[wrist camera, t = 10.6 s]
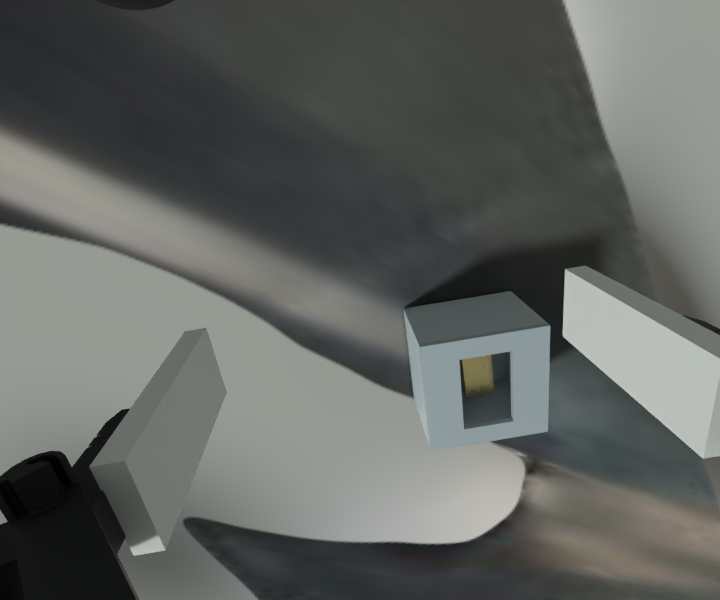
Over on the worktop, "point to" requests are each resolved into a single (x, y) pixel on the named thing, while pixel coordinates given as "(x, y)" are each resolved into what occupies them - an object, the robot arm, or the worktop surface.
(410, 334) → the grey square hollow box
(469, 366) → the block
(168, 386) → the robot arm
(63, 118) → the worktop surface
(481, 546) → the worktop surface
